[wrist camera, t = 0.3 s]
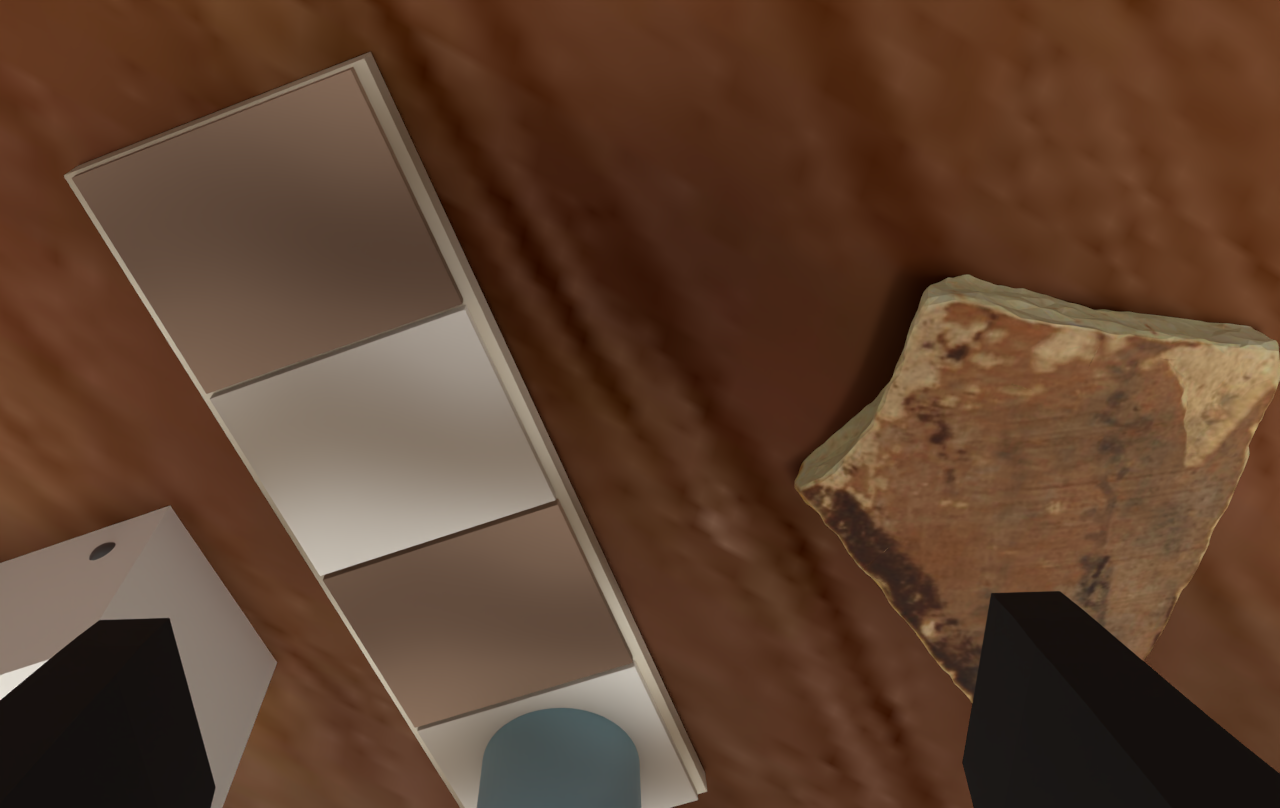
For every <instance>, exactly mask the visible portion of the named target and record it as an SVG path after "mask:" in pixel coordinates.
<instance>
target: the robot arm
mask: <svg viewBox="0 0 1280 808" xmlns="http://www.w3.org/2000/svg"><path fill="white" fill-rule="evenodd" d="M962 763H963V767H964V771H965V775H966V779H967V783H968V787H969V790H970V794H971V798H972V802H973V806H974V808H1280V774H1279V773H1278V772H1277V771H1275V770H1274V769H1273V768H1272V767H1270V766H1269V765H1268V764H1267V763H1265V762H1264V761H1263V760H1262V759H1260V758H1259V757H1258V756H1257V755H1255V754H1254V753H1253V752H1252V751H1250V750H1249V749H1248V748H1247V747H1245V746H1244V745H1243V744H1242V743H1241V742H1239V741H1238V740H1237V739H1236V738H1234V737H1233V736H1232V735H1231V734H1230V733H1228V732H1227V731H1226V730H1225V729H1223V728H1222V727H1221V726H1220V725H1219V724H1217V723H1216V722H1215V721H1214V720H1212V719H1211V718H1210V717H1209V716H1208V715H1206V714H1205V713H1204V712H1203V711H1202V710H1201V709H1199V708H1198V707H1197V706H1196V705H1195V704H1193V703H1192V702H1191V701H1190V700H1189V699H1187V698H1186V697H1185V696H1184V695H1183V694H1181V693H1180V692H1179V691H1178V690H1177V689H1175V688H1174V687H1173V686H1172V685H1171V684H1170V683H1168V682H1167V681H1166V680H1165V679H1164V678H1163V677H1161V676H1160V675H1159V674H1158V673H1157V672H1156V671H1154V670H1153V669H1152V668H1151V667H1150V666H1148V665H1147V664H1146V663H1145V662H1144V661H1143V660H1141V659H1140V658H1139V657H1138V656H1137V655H1136V654H1134V653H1133V652H1132V651H1131V650H1130V649H1129V648H1127V647H1126V646H1125V645H1124V644H1123V643H1122V642H1120V641H1119V640H1118V639H1117V638H1116V637H1115V636H1113V635H1112V634H1111V633H1110V632H1109V631H1108V630H1106V629H1105V628H1104V627H1103V626H1102V625H1101V624H1099V623H1098V622H1097V621H1096V620H1095V619H1093V618H1092V617H1091V616H1090V615H1089V614H1088V613H1086V612H1085V611H1084V610H1083V609H1082V608H1080V607H1079V606H1078V605H1077V604H1075V603H1074V602H1073V601H1072V600H1070V599H1069V598H1068V597H1067V596H1065V595H1064V594H1063V593H1062V592H1060V591H1043V592H1010V593H991V597H990V603H989V609H988V614H987V620H986V626H985V632H984V638H983V644H982V650H981V656H980V662H979V668H978V674H977V680H976V685H975V691H974V697H973V703H972V709H971V715H970V721H969V727H968V733H967V739H966V745H965V751H964V756H963V762H962ZM215 788H216V786H215V783H214V779H213V775H212V772H211V768H210V764H209V761H208V757H207V753H206V750H205V746H204V742H203V739H202V735H201V731H200V728H199V724H198V720H197V717H196V713H195V709H194V706H193V702H192V698H191V695H190V691H189V687H188V684H187V680H186V676H185V673H184V669H183V665H182V662H181V658H180V654H179V651H178V647H177V643H176V640H175V636H174V632H173V629H172V625H171V621H170V618H149V619H116V620H99V621H97V622H96V623H95V624H93V625H92V626H91V627H90V628H88V629H87V630H86V631H84V632H83V633H82V634H80V635H79V636H78V637H76V638H75V639H74V640H73V641H71V642H70V643H69V644H68V645H66V646H65V647H64V648H63V649H61V650H60V651H59V652H58V653H56V654H55V655H54V656H53V657H52V658H50V659H49V660H48V661H47V662H45V663H44V664H43V665H42V666H41V667H39V668H38V669H37V670H36V671H35V672H33V673H32V674H31V675H30V676H29V677H27V678H26V679H25V680H24V681H23V682H21V683H20V684H19V685H18V686H17V687H15V688H14V689H13V690H12V691H11V692H9V693H8V694H7V695H6V696H5V697H3V698H2V699H1V700H0V808H211V804H212V800H213V796H214V792H215Z"/></svg>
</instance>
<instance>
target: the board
mask: <svg viewBox="0 0 1280 808" xmlns="http://www.w3.org/2000/svg"><path fill="white" fill-rule="evenodd" d="M64 177H65V179H66V180H67V182H68V183H69V185H70V187H71V188H72V190H73V191H74V193H75V195H76V196H77V198H78V199H79V201H80V203H81V204H82V206H83V207H84V209H85V211H86V212H87V214H88V215H89V217H90V219H91V220H92V222H93V223H94V225H95V226H96V228H97V230H98V231H99V233H100V234H101V236H102V238H103V239H104V241H105V242H106V244H107V246H108V247H109V249H110V250H111V252H112V254H113V255H114V257H115V258H116V260H117V262H118V263H119V265H120V266H121V268H122V270H123V271H124V273H125V274H126V276H127V277H128V279H129V281H130V282H131V284H132V285H133V287H134V289H135V290H136V292H137V293H138V295H139V297H140V298H141V300H142V301H143V303H144V305H145V306H146V308H147V309H148V311H149V313H150V314H151V316H152V317H153V319H154V320H155V322H156V324H157V325H158V327H159V328H160V330H161V332H162V333H163V335H164V336H165V338H166V340H167V341H168V343H169V344H170V346H171V348H172V349H173V351H174V352H175V354H176V356H177V357H178V359H179V360H180V362H181V364H182V365H183V367H184V368H185V370H186V371H187V373H188V375H189V376H190V378H191V379H192V381H193V383H194V384H195V386H196V387H197V389H198V391H199V392H200V394H201V395H202V397H203V399H204V400H205V402H206V403H207V405H208V407H209V408H210V410H211V411H212V413H213V415H214V416H215V418H216V419H217V421H218V422H219V424H220V426H221V427H222V429H223V430H224V432H225V434H226V435H227V437H228V438H229V440H230V442H231V443H232V445H233V446H234V448H235V450H236V451H237V453H238V454H239V456H240V458H241V459H242V461H243V462H244V464H245V466H246V467H247V469H248V470H249V472H250V473H251V475H252V477H253V478H254V480H255V481H256V483H257V485H258V486H259V488H260V489H261V491H262V493H263V494H264V496H265V497H266V499H267V501H268V502H269V504H270V505H271V507H272V509H273V510H274V512H275V513H276V515H277V517H278V518H279V520H280V521H281V523H282V524H283V526H284V528H285V529H286V531H287V532H288V534H289V536H290V537H291V539H292V540H293V542H294V544H295V545H296V547H297V548H298V550H299V552H300V553H301V555H302V556H303V558H304V560H305V561H306V563H307V564H308V566H309V567H310V569H311V571H312V572H313V574H314V575H315V577H316V579H317V580H318V582H319V583H320V585H321V587H322V588H323V590H324V591H325V593H326V595H327V596H328V598H329V599H330V601H331V603H332V604H333V606H334V607H335V609H336V611H337V612H338V614H339V615H340V617H341V618H342V620H343V622H344V623H345V625H346V626H347V628H348V630H349V631H350V633H351V634H352V636H353V638H354V639H355V641H356V642H357V644H358V646H359V647H360V649H361V650H362V652H363V654H364V655H365V657H366V658H367V660H368V662H369V663H370V665H371V666H372V668H373V669H374V671H375V673H376V674H377V676H378V677H379V679H380V681H381V682H382V684H383V685H384V687H385V689H386V690H387V692H388V693H389V695H390V697H391V698H392V700H393V701H394V703H395V705H396V706H397V708H398V709H399V711H400V713H401V714H402V716H403V717H404V719H405V720H406V722H407V724H408V725H409V727H410V728H411V730H412V732H413V733H414V735H415V736H416V738H417V740H418V741H419V743H420V744H421V746H422V748H423V749H424V751H425V752H426V754H427V756H428V757H429V759H430V760H431V762H432V764H433V765H434V767H435V768H436V770H437V771H438V773H439V775H440V776H441V778H442V779H443V781H444V783H445V784H446V786H447V787H448V789H449V791H450V792H451V794H452V795H453V797H454V799H455V800H456V802H457V803H458V805H459V807H460V808H477V802H478V794H479V785H480V777H481V769H482V760H483V755H484V751H485V749H486V747H487V744H488V743H489V741H490V740H491V738H492V737H493V736H494V735H495V733H496V732H497V731H498V730H499V729H501V728H502V727H503V726H504V725H505V724H507V723H509V722H510V721H512V720H513V719H515V718H517V717H520V716H522V715H524V714H527V713H530V712H534V711H538V710H543V709H550V708H573V709H579V710H584V711H588V712H592V713H595V714H598V715H600V716H603V717H605V718H607V719H608V720H610V721H612V722H614V723H615V724H616V725H618V726H619V727H620V728H621V729H623V730H624V731H625V732H626V733H627V735H628V736H629V737H630V738H631V740H632V741H633V743H634V745H635V747H636V749H637V752H638V756H639V763H640V786H641V808H671V807H674V806H678V805H682V804H685V803H689V802H692V801H696V800H698V794H700V793H704V792H707V785H706V776H705V772H704V770H703V767H702V765H701V763H700V761H699V759H698V757H697V755H696V752H695V750H694V748H693V746H692V744H691V742H690V739H689V737H688V735H687V733H686V731H685V729H684V727H683V724H682V722H681V720H680V718H679V716H678V714H677V711H676V709H675V707H674V705H673V703H672V701H671V698H670V696H669V694H668V692H667V690H666V688H665V686H664V683H663V681H662V679H661V677H660V675H659V673H658V670H657V668H656V666H655V664H654V662H653V660H652V658H651V655H650V653H649V651H648V649H647V647H646V645H645V642H644V640H643V638H642V636H641V634H640V632H639V629H638V627H637V625H636V623H635V621H634V619H633V617H632V614H631V612H630V610H629V608H628V606H627V604H626V601H625V599H624V597H623V595H622V593H621V591H620V589H619V586H618V584H617V582H616V580H615V578H614V576H613V573H612V571H611V569H610V567H609V565H608V563H607V560H606V558H605V556H604V554H603V552H602V550H601V548H600V545H599V543H598V541H597V539H596V537H595V535H594V532H593V530H592V528H591V526H590V524H589V522H588V520H587V517H586V515H585V513H584V511H583V509H582V507H581V504H580V502H579V500H578V498H577V496H576V494H575V491H574V489H573V487H572V485H571V483H570V481H569V479H568V476H567V474H566V472H565V470H564V468H563V466H562V463H561V461H560V459H559V457H558V455H557V453H556V451H555V448H554V446H553V444H552V442H551V440H550V438H549V435H548V433H547V431H546V429H545V427H544V425H543V422H542V420H541V418H540V416H539V414H538V412H537V410H536V407H535V405H534V403H533V401H532V399H531V397H530V394H529V392H528V390H527V388H526V386H525V384H524V382H523V379H522V377H521V375H520V373H519V371H518V369H517V366H516V364H515V362H514V360H513V358H512V356H511V353H510V351H509V349H508V347H507V345H506V343H505V341H504V338H503V336H502V334H501V332H500V330H499V328H498V325H497V323H496V321H495V319H494V317H493V315H492V313H491V310H490V308H489V306H488V304H487V302H486V300H485V297H484V295H483V293H482V291H481V289H480V287H479V284H478V282H477V280H476V278H475V276H474V274H473V272H472V269H471V267H470V265H469V263H468V261H467V259H466V256H465V254H464V252H463V250H462V248H461V246H460V244H459V241H458V239H457V237H456V235H455V233H454V231H453V228H452V226H451V224H450V222H449V220H448V218H447V215H446V213H445V211H444V209H443V207H442V205H441V203H440V200H439V198H438V196H437V194H436V192H435V190H434V187H433V185H432V183H431V181H430V179H429V177H428V175H427V172H426V170H425V168H424V166H423V164H422V162H421V159H420V157H419V155H418V153H417V151H416V149H415V146H414V144H413V142H412V140H411V138H410V136H409V134H408V131H407V129H406V127H405V125H404V123H403V121H402V118H401V116H400V114H399V112H398V110H397V108H396V106H395V103H394V101H393V99H392V97H391V95H390V93H389V90H388V88H387V86H386V84H385V82H384V80H383V77H382V75H381V73H380V71H379V69H378V67H377V65H376V62H375V60H374V58H373V56H372V54H371V52H368V53H366V54H363V55H361V56H358V57H356V58H353V59H350V60H348V61H345V62H343V63H340V64H338V65H335V66H332V67H330V68H327V69H325V70H322V71H320V72H317V73H314V74H312V75H309V76H307V77H304V78H302V79H299V80H297V81H294V82H291V83H289V84H286V85H284V86H281V87H279V88H276V89H273V90H271V91H268V92H266V93H263V94H261V95H258V96H256V97H253V98H250V99H248V100H245V101H243V102H240V103H238V104H235V105H232V106H230V107H227V108H225V109H222V110H220V111H217V112H215V113H212V114H209V115H207V116H204V117H202V118H199V119H197V120H194V121H191V122H189V123H186V124H184V125H181V126H179V127H176V128H174V129H171V130H168V131H166V132H163V133H161V134H158V135H156V136H153V137H150V138H148V139H145V140H143V141H140V142H138V143H135V144H133V145H130V146H127V147H125V148H122V149H120V150H117V151H115V152H112V153H109V154H107V155H104V156H102V157H99V158H97V159H94V160H91V161H89V162H86V163H84V164H81V165H79V166H77V167H75V168H74V169H72V170H71V171H69V172H68V173H66V174H65V175H64Z"/></svg>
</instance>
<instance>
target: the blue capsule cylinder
mask: <svg viewBox="0 0 1280 808" xmlns="http://www.w3.org/2000/svg"><path fill="white" fill-rule="evenodd" d="M477 808H641V786H640V763H639V756H638V752H637V749H636V747H635V745H634V743H633V741H632V740H631V738H630V737H629V736H628V735H627V733H626V732H625V731H624V730H623V729H621V728H620V727H619V726H618V725H616V724H615V723H614V722H612V721H610V720H608V719H607V718H605V717H603V716H600V715H598V714H595V713H592V712H588V711H584V710H579V709H573V708H550V709H543V710H538V711H534V712H530V713H527V714H524V715H522V716H520V717H517V718H515V719H513V720H512V721H510V722H509V723H507V724H505V725H504V726H503V727H502V728H501V729H499V730H498V731H497V732H496V733H495V735H494V736H493V737H492V738H491V740H490V741H489V743H488V744H487V747H486V749H485V751H484V755H483V760H482V769H481V777H480V785H479V794H478V802H477Z"/></svg>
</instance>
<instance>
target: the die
mask: <svg viewBox="0 0 1280 808" xmlns="http://www.w3.org/2000/svg"><path fill="white" fill-rule="evenodd" d="M149 618H170V621H171V625H172V629H173V632H174V636H175V640H176V643H177V647H178V651H179V654H180V658H181V662H182V665H183V669H184V673H185V676H186V680H187V684H188V687H189V691H190V695H191V698H192V702H193V706H194V709H195V713H196V717H197V720H198V724H199V728H200V731H201V735H202V739H203V742H204V746H205V750H206V753H207V757H208V761H209V764H210V768H211V772H212V775H213V779H214V783H215V786H216V788H215V792H214V796H213V800H212V804H211V808H222V807H223V804H224V802H225V799H226V796H227V794H228V791H229V788H230V786H231V783H232V780H233V778H234V775H235V773H236V770H237V767H238V765H239V762H240V759H241V757H242V754H243V751H244V749H245V746H246V744H247V741H248V738H249V736H250V733H251V730H252V728H253V725H254V722H255V720H256V717H257V715H258V712H259V709H260V707H261V704H262V701H263V699H264V696H265V693H266V691H267V688H268V686H269V683H270V680H271V678H272V675H273V672H274V670H275V667H276V664H277V662H276V660H275V659H274V657H273V656H272V654H271V653H270V651H269V650H268V648H267V647H266V645H265V644H264V642H263V641H262V640H261V638H260V637H259V635H258V634H257V632H256V631H255V629H254V628H253V626H252V625H251V623H250V622H249V620H248V619H247V618H246V616H245V615H244V613H243V612H242V610H241V609H240V607H239V606H238V604H237V603H236V601H235V600H234V598H233V597H232V596H231V594H230V593H229V591H228V590H227V588H226V587H225V585H224V584H223V582H222V581H221V579H220V578H219V576H218V575H217V573H216V572H215V571H214V569H213V568H212V566H211V565H210V563H209V562H208V560H207V559H206V557H205V556H204V554H203V553H202V551H201V550H200V549H199V547H198V546H197V544H196V543H195V541H194V540H193V538H192V537H191V535H190V534H189V532H188V531H187V529H186V528H185V527H184V525H183V524H182V522H181V521H180V519H179V518H178V516H177V515H176V513H175V512H174V510H173V509H172V507H171V506H167V507H164V508H161V509H158V510H155V511H152V512H150V513H147V514H144V515H141V516H138V517H135V518H132V519H129V520H126V521H123V522H120V523H117V524H114V525H111V526H108V527H105V528H102V529H99V530H96V531H93V532H91V533H88V534H85V535H82V536H79V537H76V538H73V539H70V540H67V541H64V542H61V543H58V544H55V545H52V546H49V547H46V548H43V549H40V550H37V551H34V552H32V553H29V554H26V555H23V556H20V557H17V558H14V559H11V560H8V561H5V562H2V563H0V700H1V699H2V698H3V697H5V696H6V695H7V694H8V693H9V692H11V691H12V690H13V689H14V688H15V687H17V686H18V685H19V684H20V683H21V682H23V681H24V680H25V679H26V678H27V677H29V676H30V675H31V674H32V673H33V672H35V671H36V670H37V669H38V668H39V667H41V666H42V665H43V664H44V663H45V662H47V661H48V660H49V659H50V658H52V657H53V656H54V655H55V654H56V653H58V652H59V651H60V650H61V649H63V648H64V647H65V646H66V645H68V644H69V643H70V642H71V641H73V640H74V639H75V638H76V637H78V636H79V635H80V634H82V633H83V632H84V631H86V630H87V629H88V628H90V627H91V626H92V625H93V624H95V623H96V622H97V621H99V620H116V619H149Z"/></svg>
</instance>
